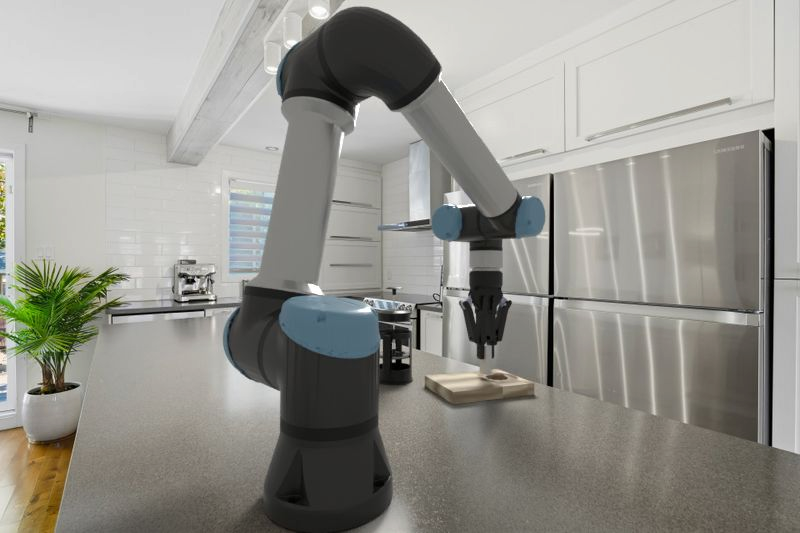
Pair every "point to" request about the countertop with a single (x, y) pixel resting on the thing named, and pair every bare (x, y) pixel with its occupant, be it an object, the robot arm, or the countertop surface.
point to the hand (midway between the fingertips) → (485, 373)
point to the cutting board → (477, 386)
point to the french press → (395, 347)
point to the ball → (498, 376)
